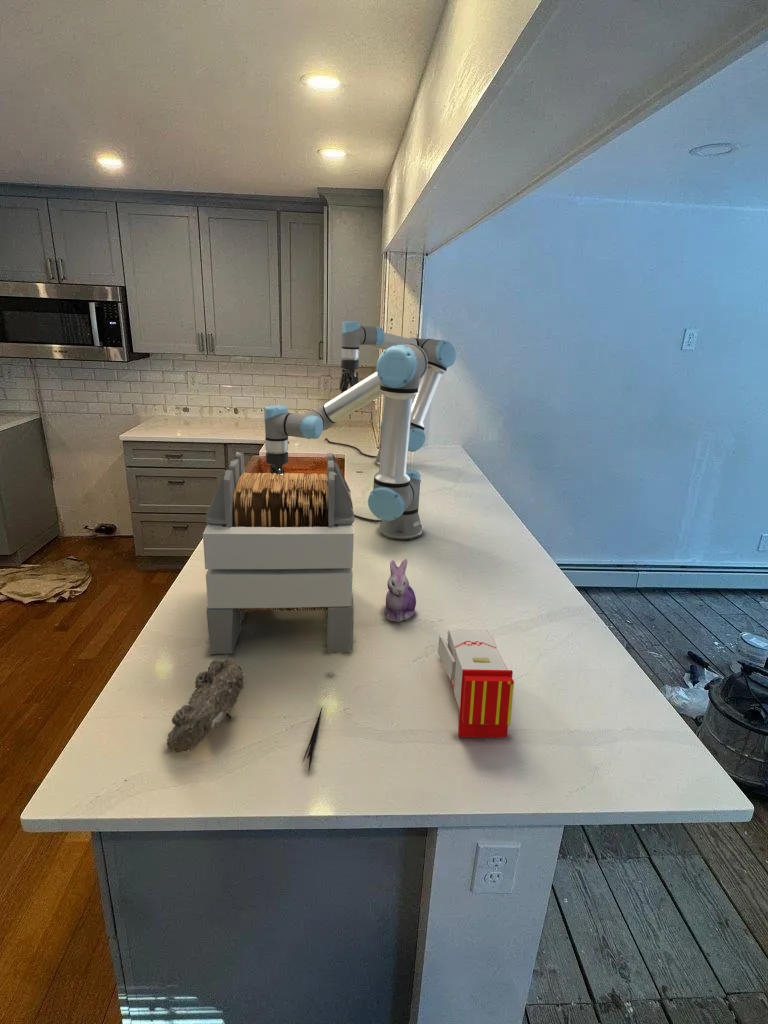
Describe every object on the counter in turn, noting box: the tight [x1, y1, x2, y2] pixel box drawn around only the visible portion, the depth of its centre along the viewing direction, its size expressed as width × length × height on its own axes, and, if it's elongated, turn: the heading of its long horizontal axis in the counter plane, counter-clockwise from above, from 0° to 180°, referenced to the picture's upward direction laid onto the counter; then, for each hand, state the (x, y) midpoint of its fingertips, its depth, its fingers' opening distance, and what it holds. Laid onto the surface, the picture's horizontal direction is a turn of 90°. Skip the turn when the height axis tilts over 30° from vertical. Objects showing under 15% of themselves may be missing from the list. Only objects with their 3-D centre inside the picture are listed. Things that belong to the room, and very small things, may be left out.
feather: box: [301, 673, 332, 771], centre depth 108 cm, size 2×28×2 cm
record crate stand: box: [202, 451, 355, 655], centre depth 137 cm, size 34×33×41 cm
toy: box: [437, 628, 515, 738], centre depth 117 cm, size 12×13×30 cm
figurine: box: [384, 558, 417, 623], centre depth 145 cm, size 9×10×15 cm
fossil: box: [166, 658, 245, 754], centre depth 106 cm, size 22×10×15 cm
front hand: (278, 515), depth 200 cm, fingers closed on pill bottle, 5 cm apart
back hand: (349, 408), depth 250 cm, fingers open, 13 cm apart
